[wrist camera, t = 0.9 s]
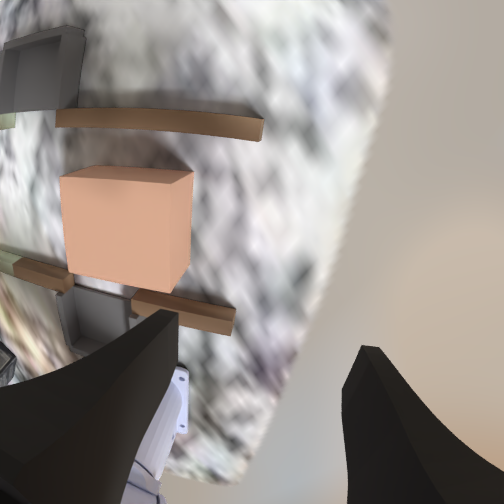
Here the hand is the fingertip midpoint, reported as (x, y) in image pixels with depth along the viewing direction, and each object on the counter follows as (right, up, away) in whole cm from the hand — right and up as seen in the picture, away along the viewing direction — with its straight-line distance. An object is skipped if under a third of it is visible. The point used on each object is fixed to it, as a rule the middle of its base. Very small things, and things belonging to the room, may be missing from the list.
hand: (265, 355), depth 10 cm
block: (-7, +6, +10) cm, 14 cm away
